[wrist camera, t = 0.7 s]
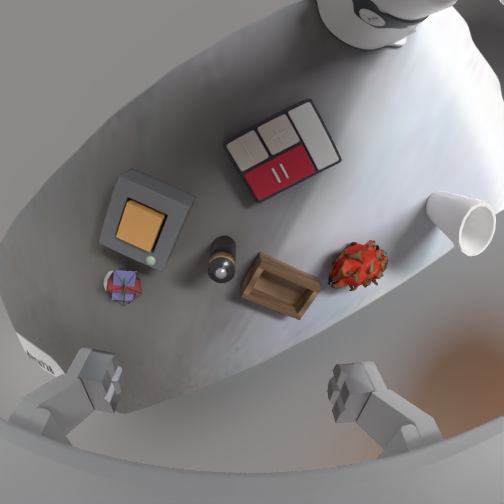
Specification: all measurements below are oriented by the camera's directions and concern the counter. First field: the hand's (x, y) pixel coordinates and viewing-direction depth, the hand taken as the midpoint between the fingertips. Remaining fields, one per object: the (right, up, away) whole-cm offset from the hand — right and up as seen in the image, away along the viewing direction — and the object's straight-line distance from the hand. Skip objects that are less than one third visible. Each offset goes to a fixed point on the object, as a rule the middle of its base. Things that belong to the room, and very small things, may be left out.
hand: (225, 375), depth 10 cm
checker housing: (-16, +11, +39) cm, 44 cm away
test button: (-16, +9, +35) cm, 40 cm away
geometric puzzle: (-23, 0, +44) cm, 50 cm away
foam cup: (+37, +14, +40) cm, 56 cm away
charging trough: (+6, -1, +45) cm, 46 cm away
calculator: (+6, +21, +36) cm, 42 cm away
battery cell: (-4, +5, +42) cm, 43 cm away
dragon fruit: (+19, +3, +44) cm, 48 cm away
